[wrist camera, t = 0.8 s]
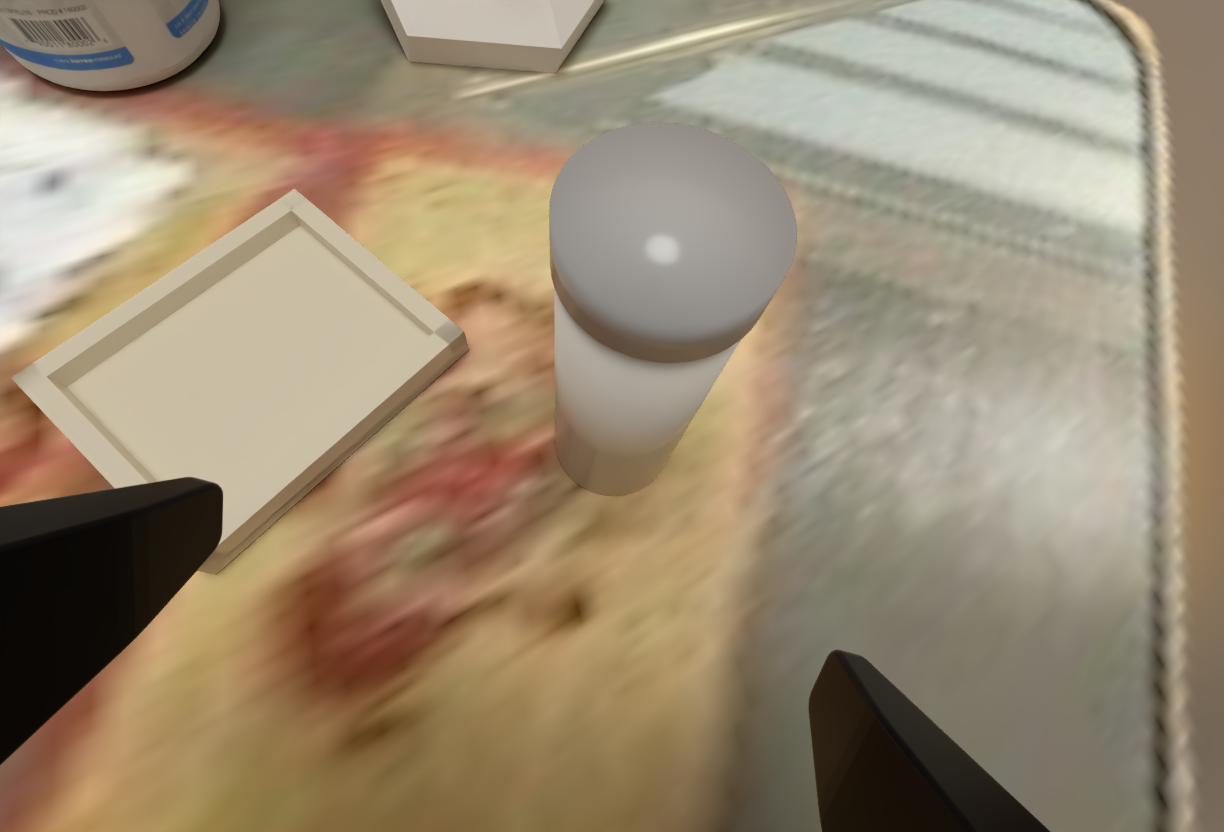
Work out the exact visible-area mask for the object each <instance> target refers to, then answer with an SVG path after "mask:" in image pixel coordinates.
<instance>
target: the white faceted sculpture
mask: <svg viewBox="0 0 1224 832" xmlns="http://www.w3.org/2000/svg"><path fill="white" fill-rule="evenodd" d="M381 2H382V5H383V7H384V9H385V11H386V13H387V15H388V18H389V20H390V22H391V24H392V26H393V29H394V31H395V33H396V35H397V37H398V39H399V42H400V44H401V46H402V48H403V50H404V52H405V55H406V57H407V59H408V61H409V62H422V63H434V64H446V65H459V66H471V67H484V68H496V69H508V70H521V71H533V72H545V73H556V72H557V70H558V69H559V67H560V66H561V64H562V63H563V61H564V60H565V59H566V57H567V56H568V54H569V53H570V51H571V50H572V48H573V47H574V45H575V44H576V42H577V41H578V39H579V38H580V36H581V35H582V33H583V32H584V30H585V29H586V27H587V26H588V25H589V23H590V22H591V20H592V19H593V17H594V16H595V14H596V13H597V11H598V10H599V8H600V7H601V5H602V4H603V2H604V0H381Z"/></svg>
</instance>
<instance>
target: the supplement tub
mask: <svg viewBox="0 0 1224 832" xmlns="http://www.w3.org/2000/svg"><path fill="white" fill-rule="evenodd" d="M219 20H220V7H219V0H0V43H1V44H2V46H3V47H4V48H5V49H6V50H7V51H8V52H9V53H10V54H11V55H12V56H13V57H14V58H15V59H16V60H17V61H18V62H19V63H20V64H22V65H23V66H24V67H25V68H27V69H29V70H30V71H32V72H33V73H35V74H37V75H38V76H40V77H42V78H45V79H47V80H49V81H51V82H54V83H57V84H60V85H63V86H66V87H71V88H76V89H82V90H92V91H115V90H126V89H133V88H137V87H142V86H146V85H150V84H153V83H156V82H158V81H161V80H164V79H166V78H168V77H171V76H173V75H175V74H176V73H178V72H180V71H181V70H183V69H185V68H186V67H187V66H189V65H190V64H191V63H192V62H194V61H195V60H196V59H197V58H198V57H199V56H200V55H201V53H202V52H203V51H204V50H205V49H206V48H207V47H208V46H209V44H210V43H211V42H212V40H213V38H214V36H215V34H216V32H217V29H218V25H219Z"/></svg>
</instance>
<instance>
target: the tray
mask: <svg viewBox="0 0 1224 832" xmlns="http://www.w3.org/2000/svg"><path fill="white" fill-rule="evenodd" d="M468 350H469V347H468V344H467V341H466V337H465V334H464V331H463V330H462V329H460V328H459V327H458V326H457V325H456V324H454V323H453V322H452V321H451V320H450V319H449V318H447V317H446V316H445V315H444V314H443V313H441V312H440V311H439V310H438V309H437V308H435V307H434V306H433V305H432V304H431V303H429V302H428V301H427V300H426V299H425V298H424V297H422V296H421V295H420V294H419V293H418V292H416V291H415V290H414V289H413V288H412V287H410V286H409V285H408V284H407V283H406V282H405V281H403V280H402V279H401V278H400V277H399V276H397V275H396V274H395V273H394V272H393V271H391V270H390V269H389V268H388V267H387V266H386V265H384V264H383V263H382V262H381V261H380V260H378V259H377V258H376V257H375V256H374V255H372V254H371V253H370V252H369V251H368V250H367V249H365V248H364V247H363V246H362V245H361V244H359V243H358V242H357V241H356V240H355V239H353V238H352V237H351V236H350V235H349V234H348V233H346V232H345V231H344V230H343V229H342V228H340V227H339V226H338V225H337V224H336V223H334V222H333V221H332V220H331V219H330V218H329V217H327V216H326V215H325V214H324V213H323V212H321V211H320V210H319V209H318V208H317V207H315V206H314V205H313V204H312V203H311V202H310V201H308V200H307V199H306V198H305V197H304V196H302V195H301V194H300V193H299V192H298V191H296V190H295V189H294V190H292V191H291V192H289V193H288V194H286V195H285V196H283V197H282V198H280V199H279V200H277V201H276V202H274V203H273V204H271V205H270V206H268V207H267V208H265V209H264V210H262V211H261V212H259V213H258V214H256V215H255V216H253V217H252V218H250V219H249V220H247V221H246V222H244V223H243V224H241V225H240V226H238V227H237V228H235V229H234V230H232V231H231V232H229V233H228V234H226V235H225V236H223V237H221V238H220V239H218V240H217V241H215V242H214V243H212V244H211V245H209V246H208V247H206V248H205V249H203V250H202V251H200V252H199V253H197V254H196V255H194V256H193V257H191V258H190V259H188V260H187V261H185V262H184V263H182V264H181V265H179V266H178V267H176V268H175V269H173V270H172V271H170V272H169V273H167V274H166V275H164V276H163V277H161V278H160V279H158V280H157V281H155V282H154V283H152V284H151V285H149V286H148V287H146V288H145V289H143V290H142V291H140V292H139V293H137V294H136V295H134V296H133V297H131V298H130V299H128V300H127V301H125V302H124V303H122V304H121V305H119V306H118V307H116V308H115V309H113V310H112V311H110V312H109V313H107V314H106V315H104V316H103V317H101V318H100V319H98V320H97V321H95V322H94V323H92V324H91V325H89V326H88V327H86V328H85V329H83V330H82V331H80V332H79V333H77V334H76V335H74V336H73V337H71V338H70V339H68V340H67V341H65V342H64V343H62V344H61V345H59V346H58V347H56V348H55V349H53V350H52V351H50V352H49V353H47V354H46V355H44V356H43V357H41V358H40V359H38V360H37V361H35V362H34V363H32V364H31V365H29V366H28V367H26V368H25V369H23V370H22V371H20V372H19V373H17V374H16V375H14V376H13V377H11V378H12V379H13V380H14V382H15V383H16V384H17V385H18V386H19V387H20V388H21V389H22V390H23V391H24V392H25V393H26V394H27V395H28V396H29V397H30V399H31V400H32V401H33V402H34V403H35V404H36V405H37V406H38V407H39V408H40V409H41V410H42V411H43V412H44V413H45V415H46V416H47V417H48V418H49V419H50V420H51V421H52V422H53V423H54V424H55V425H56V426H57V427H58V428H59V429H60V431H61V432H62V433H63V434H64V435H65V436H66V437H67V438H68V439H69V440H70V441H71V442H72V443H73V444H74V445H75V446H76V448H77V449H78V450H79V451H80V452H81V453H82V454H83V455H84V456H85V457H86V458H87V459H88V460H89V461H90V462H91V464H92V465H93V466H94V467H95V468H96V469H97V470H98V471H99V472H100V473H101V474H102V475H103V476H104V477H105V478H106V479H107V481H108V482H109V483H110V484H111V485H112V486H113V487H114V488H121V487H127V486H133V485H140V484H146V483H152V482H158V481H165V480H171V479H177V478H183V477H195V478H199V479H203V480H206V481H210V482H214V483H217V484H218V485H219V486H220V487H221V488H222V491H223V525H222V536H221V540H220V542H219V544H218V546H217V548H216V549H215V551H214V552H213V553H212V554H211V555H210V556H209V558H208V559H207V560H206V561H205V562H204V563H203V564H202V565H201V567H200V568H199V569H198V570H197V571H202V572H207V573H211V574H217V573H218V572H220V571H221V570H222V569H223V568H224V567H225V566H226V565H227V564H229V563H230V562H231V561H232V560H233V559H234V558H235V557H236V556H238V555H239V554H240V553H241V552H242V551H243V550H244V549H245V548H247V547H248V546H249V545H250V544H251V543H252V542H253V541H254V540H256V539H257V538H258V537H259V536H260V535H261V534H262V533H263V532H265V531H266V530H267V529H268V528H269V527H270V526H271V525H272V524H274V523H275V522H276V521H277V520H278V519H279V518H280V517H281V516H283V515H284V514H285V513H286V512H287V511H288V510H289V509H290V508H292V507H293V506H294V505H295V504H296V503H297V502H298V501H299V500H301V499H302V498H303V497H304V496H305V495H306V494H307V493H308V492H310V491H311V490H312V489H313V488H314V487H315V486H316V485H317V484H319V483H320V482H321V481H322V480H323V479H324V478H325V477H326V476H328V475H329V474H330V473H331V472H332V471H333V470H334V469H335V468H337V467H338V466H339V465H340V464H341V463H342V462H343V461H344V460H346V459H347V458H348V457H349V456H350V455H351V454H352V453H353V452H355V451H356V450H357V449H358V448H359V447H360V446H361V445H362V444H364V443H365V442H366V441H367V440H368V439H369V438H370V437H371V436H373V435H374V434H375V433H376V432H377V431H378V430H379V429H380V428H382V427H383V426H384V425H385V424H386V423H387V422H388V421H389V420H391V419H392V418H393V417H394V416H395V415H396V414H397V413H398V412H400V411H401V410H402V409H403V408H404V407H405V406H406V405H407V404H409V403H410V402H411V401H412V400H413V399H414V398H415V397H416V396H418V395H419V394H420V393H421V392H422V391H423V390H424V389H425V388H427V387H428V386H429V385H430V384H431V383H432V382H433V381H434V380H436V379H437V378H438V377H439V376H440V375H441V374H442V373H443V372H445V371H446V370H447V369H448V368H449V367H450V366H451V365H452V364H454V363H455V362H456V361H457V360H458V359H459V358H460V357H461V356H463V355H464V354H465V353H466V352H467V351H468Z"/></svg>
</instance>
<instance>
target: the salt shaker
mask: <svg viewBox="0 0 1224 832" xmlns="http://www.w3.org/2000/svg"><path fill="white" fill-rule="evenodd" d="M549 228H550V269H551V276H552V280H553V284H554V287H555V448H556V453H557V457H558V459H559V461H560V464H561V465H562V467H563V469H564V470H565V472H566V473H567V474H568V476H569V477H570V478H571V479H572V480H573V481H575V482H576V483H577V484H579V485H580V486H581V487H583V488H585V489H587V490H589V491H591V492H594V493H597V494H601V495H608V496H619V495H626V494H630V493H633V492H636V491H638V490H640V489H642V488H644V487H645V486H647V485H648V484H649V483H651V482H652V481H653V480H654V479H655V478H656V477H657V475H658V474H659V473H660V471H661V470H662V468H663V467H664V465H665V463H666V462H667V460H668V458H669V457H670V455H671V454H672V452H673V450H674V449H675V447H676V445H677V444H678V442H679V440H680V439H681V437H682V435H683V434H684V432H685V431H686V429H687V427H688V426H689V424H690V422H691V421H692V419H693V417H694V416H695V414H696V413H697V411H698V409H699V408H700V406H701V404H702V403H703V401H704V399H705V398H706V396H707V394H708V393H709V391H710V390H711V388H712V386H713V385H714V383H715V381H716V380H717V378H718V376H719V375H720V373H721V371H722V370H723V368H724V367H725V365H726V363H727V362H728V360H729V358H730V357H731V355H732V353H733V352H734V350H735V349H736V347H737V345H738V344H739V342H740V340H741V339H742V338H743V337H744V336H745V335H746V334H747V333H748V332H749V331H750V330H751V329H752V328H753V327H754V325H755V324H756V323H757V321H758V320H759V318H760V317H761V315H762V314H763V312H764V310H765V309H766V307H767V306H768V304H769V302H770V301H771V299H772V298H773V296H774V294H775V293H776V291H777V290H778V288H779V286H780V285H781V283H782V282H783V280H784V278H785V277H786V275H787V273H788V271H789V269H790V267H791V265H792V262H793V259H794V256H795V252H796V245H797V225H796V219H795V214H794V211H793V208H792V205H791V202H790V200H789V198H788V196H787V194H786V192H785V190H784V188H783V187H782V185H781V184H780V182H779V180H778V179H777V178H776V176H775V175H774V174H773V173H772V172H771V171H770V169H769V168H768V167H767V166H766V165H765V164H764V163H763V162H762V161H760V160H759V159H758V158H757V157H756V156H755V155H753V154H752V153H751V152H749V151H748V150H747V149H745V148H744V147H742V146H740V145H739V144H737V143H735V142H734V141H732V140H730V139H728V138H726V137H724V136H721V135H719V134H717V133H714V132H711V131H708V130H706V129H702V128H698V127H694V126H690V125H684V124H678V123H667V122H650V123H640V124H632V125H628V126H624V127H620V128H617V129H614V130H611V131H608V132H606V133H604V134H602V135H600V136H598V137H596V138H594V139H592V140H591V141H589V142H588V143H586V144H585V145H583V146H582V147H581V148H580V149H578V150H577V151H576V152H575V153H574V154H573V155H572V156H571V157H570V158H569V160H568V161H567V162H566V163H565V165H564V166H563V167H562V169H561V171H560V173H559V174H558V176H557V178H556V181H555V183H554V186H553V189H552V193H551V198H550V210H549Z"/></svg>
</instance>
